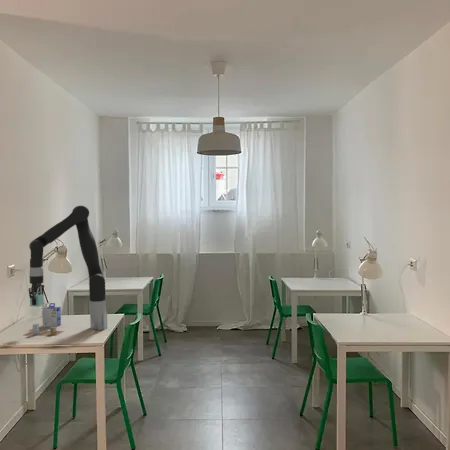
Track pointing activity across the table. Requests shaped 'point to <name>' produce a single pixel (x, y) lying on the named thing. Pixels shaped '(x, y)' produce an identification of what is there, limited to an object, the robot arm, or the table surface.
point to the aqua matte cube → (37, 301)
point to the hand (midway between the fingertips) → (36, 304)
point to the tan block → (53, 331)
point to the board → (42, 333)
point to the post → (35, 329)
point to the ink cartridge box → (51, 316)
